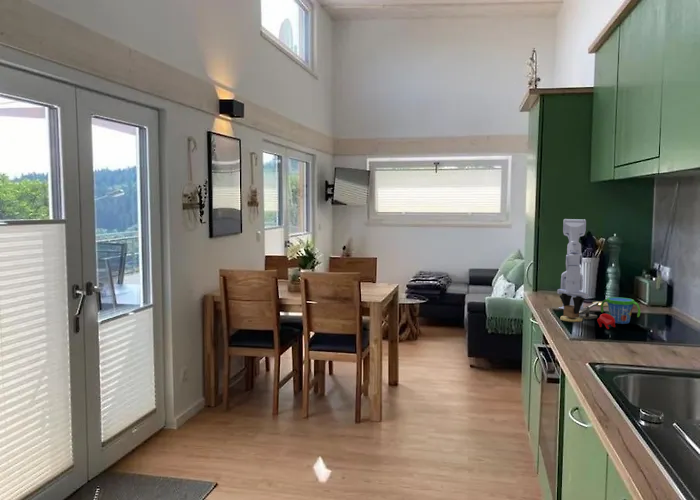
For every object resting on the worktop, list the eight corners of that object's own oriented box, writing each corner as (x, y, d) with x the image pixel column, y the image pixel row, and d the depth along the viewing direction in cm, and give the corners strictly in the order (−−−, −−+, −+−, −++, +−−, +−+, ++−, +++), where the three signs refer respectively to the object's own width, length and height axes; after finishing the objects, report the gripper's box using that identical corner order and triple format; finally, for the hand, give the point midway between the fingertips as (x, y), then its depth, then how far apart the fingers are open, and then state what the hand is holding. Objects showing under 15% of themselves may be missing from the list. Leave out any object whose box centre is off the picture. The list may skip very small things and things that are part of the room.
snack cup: (595, 321, 242) (596, 297, 241) (607, 317, 249) (608, 295, 248) (632, 327, 230) (633, 303, 229) (643, 324, 237) (645, 300, 236)
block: (570, 314, 246) (570, 304, 246) (579, 316, 242) (579, 306, 242) (563, 315, 244) (563, 305, 244) (572, 317, 240) (572, 307, 240)
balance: (600, 312, 260) (600, 298, 259) (617, 316, 252) (618, 302, 251) (555, 319, 245) (556, 304, 244) (572, 323, 237) (573, 307, 237)
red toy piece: (605, 322, 224) (617, 314, 224) (594, 315, 229) (606, 307, 229) (608, 335, 228) (620, 328, 228) (597, 328, 233) (609, 320, 234)
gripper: (553, 279, 246) (551, 310, 247) (581, 284, 234) (579, 316, 235) (564, 278, 250) (562, 308, 251) (592, 283, 237) (590, 314, 238)
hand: (571, 312), depth 243 cm, fingers closed on block, 4 cm apart
